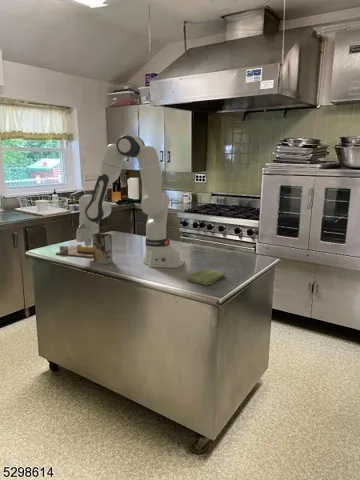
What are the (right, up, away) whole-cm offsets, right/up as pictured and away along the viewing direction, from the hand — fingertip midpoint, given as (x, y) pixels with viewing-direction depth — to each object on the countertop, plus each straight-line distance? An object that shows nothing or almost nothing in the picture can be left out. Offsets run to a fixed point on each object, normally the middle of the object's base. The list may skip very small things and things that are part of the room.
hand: (88, 245), depth 208 cm
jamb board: (-7, -4, +12) cm, 15 cm away
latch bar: (-2, -4, +8) cm, 10 cm away
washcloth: (+66, -16, -32) cm, 75 cm away
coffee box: (+10, -9, -7) cm, 15 cm away
